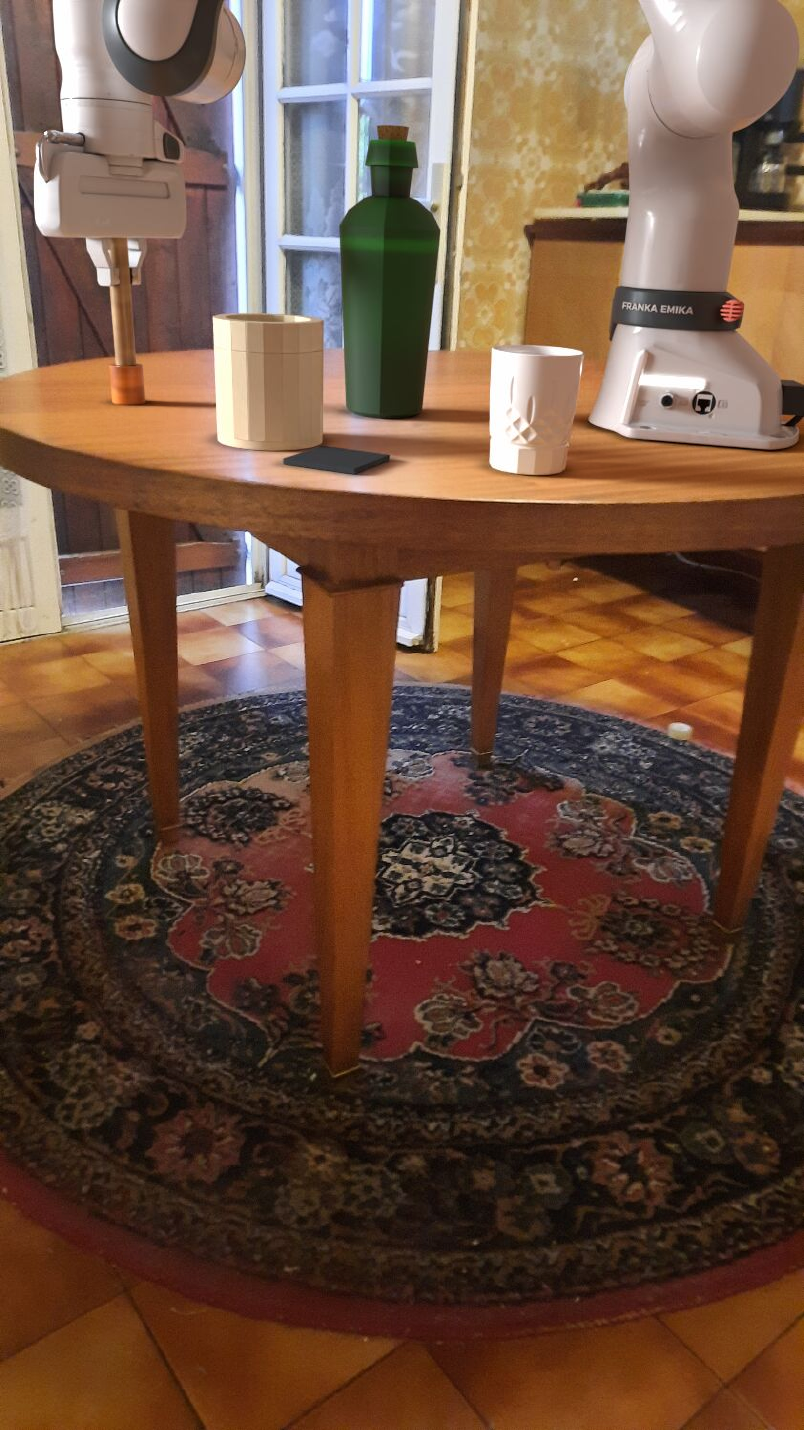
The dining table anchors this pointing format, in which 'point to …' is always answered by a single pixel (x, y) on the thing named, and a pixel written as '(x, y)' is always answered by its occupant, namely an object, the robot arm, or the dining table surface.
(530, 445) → the white cup
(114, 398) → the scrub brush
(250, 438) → the jar
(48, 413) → the dining table surface
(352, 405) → the bottle
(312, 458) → the mat
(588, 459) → the dining table surface
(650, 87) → the robot arm
